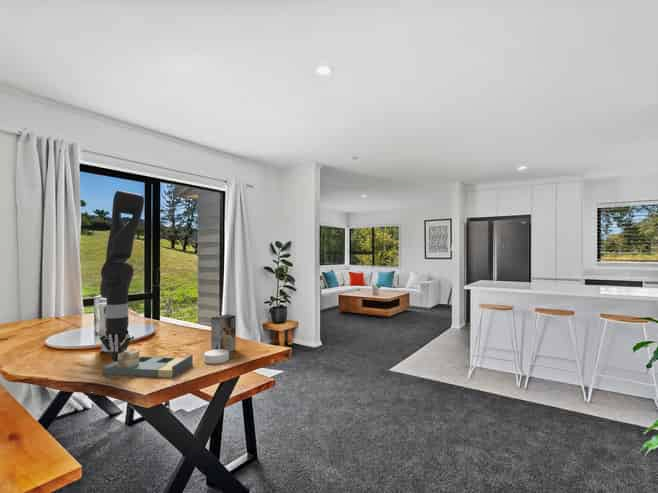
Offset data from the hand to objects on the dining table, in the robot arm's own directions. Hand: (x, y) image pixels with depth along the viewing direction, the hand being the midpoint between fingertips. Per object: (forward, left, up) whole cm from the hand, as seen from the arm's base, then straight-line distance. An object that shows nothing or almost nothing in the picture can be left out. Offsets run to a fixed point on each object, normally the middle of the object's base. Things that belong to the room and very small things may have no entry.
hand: (116, 360), depth 132 cm
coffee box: (+30, +30, -4) cm, 42 cm away
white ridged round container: (+32, +18, -4) cm, 37 cm away
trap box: (+11, +4, -4) cm, 12 cm away
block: (+5, 0, -2) cm, 5 cm away
